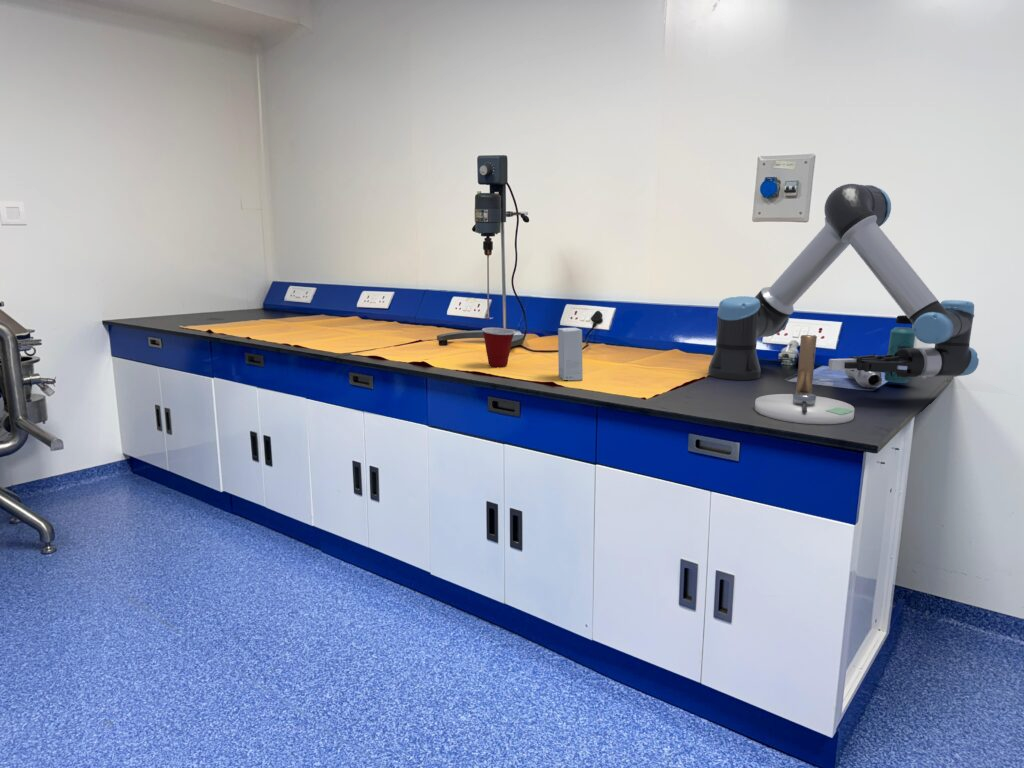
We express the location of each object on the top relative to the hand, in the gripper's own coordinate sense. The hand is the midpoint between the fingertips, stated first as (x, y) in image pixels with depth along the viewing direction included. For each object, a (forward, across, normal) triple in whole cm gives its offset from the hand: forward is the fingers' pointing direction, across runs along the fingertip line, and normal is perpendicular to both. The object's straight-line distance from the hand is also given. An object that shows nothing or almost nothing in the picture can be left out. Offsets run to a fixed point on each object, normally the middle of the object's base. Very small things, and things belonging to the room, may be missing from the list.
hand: (830, 364), depth 175 cm
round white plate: (+11, -8, -10) cm, 17 cm away
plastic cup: (+76, +62, -10) cm, 99 cm away
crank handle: (+11, -7, -8) cm, 15 cm away
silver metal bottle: (-27, +30, -7) cm, 41 cm away
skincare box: (+57, +40, -10) cm, 71 cm away
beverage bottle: (-32, +17, -10) cm, 38 cm away
